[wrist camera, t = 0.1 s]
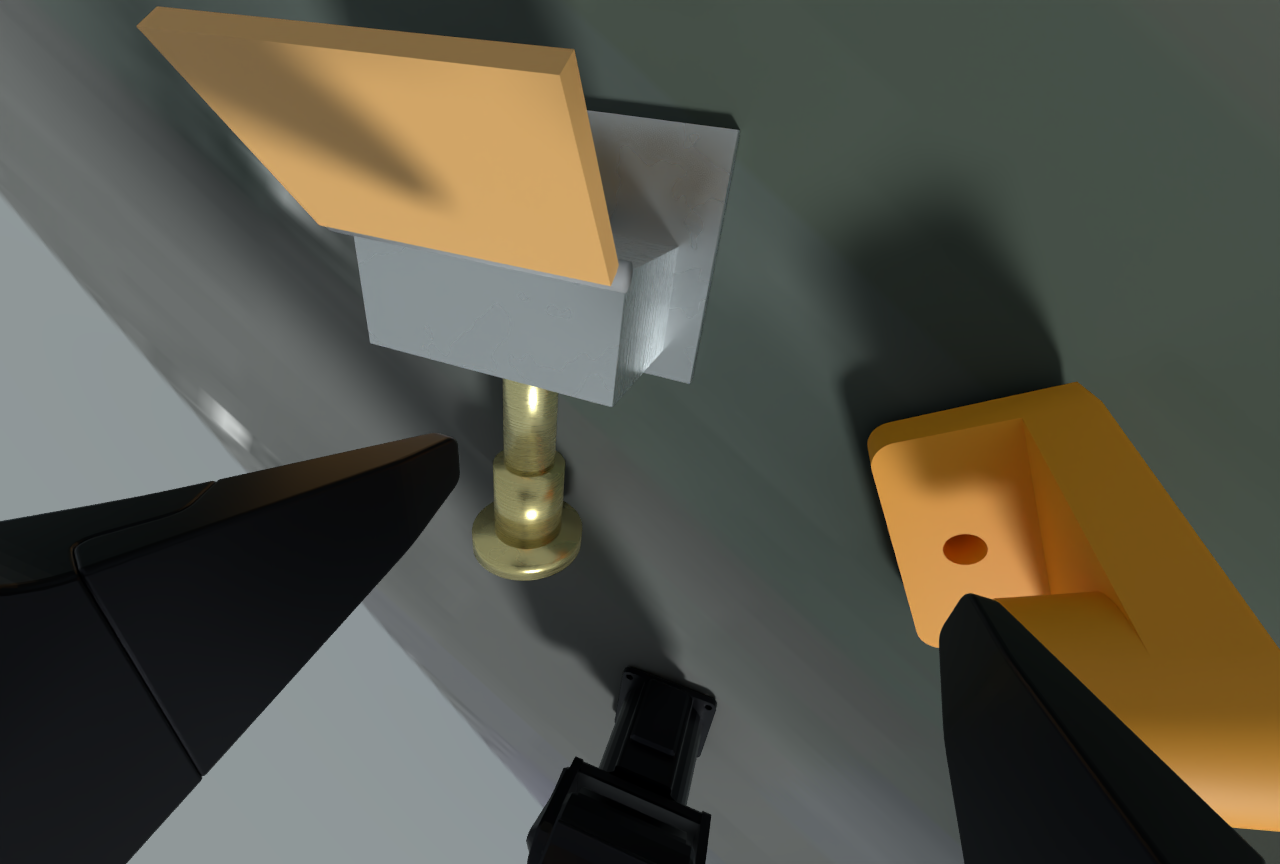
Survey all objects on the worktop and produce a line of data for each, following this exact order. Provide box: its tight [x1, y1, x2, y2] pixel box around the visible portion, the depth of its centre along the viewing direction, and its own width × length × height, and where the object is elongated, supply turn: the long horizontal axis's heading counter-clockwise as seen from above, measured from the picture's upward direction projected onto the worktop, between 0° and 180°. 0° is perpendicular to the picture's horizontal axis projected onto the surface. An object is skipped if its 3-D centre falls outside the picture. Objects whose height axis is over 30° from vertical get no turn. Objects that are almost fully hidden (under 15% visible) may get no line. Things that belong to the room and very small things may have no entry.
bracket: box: [867, 382, 1280, 832], centre depth 17 cm, size 11×7×12 cm, turn 24°
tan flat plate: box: [136, 6, 633, 293], centre depth 13 cm, size 6×10×1 cm
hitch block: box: [354, 110, 741, 407], centre depth 19 cm, size 10×13×7 cm
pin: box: [472, 378, 582, 581], centre depth 23 cm, size 14×6×6 cm, turn 173°
